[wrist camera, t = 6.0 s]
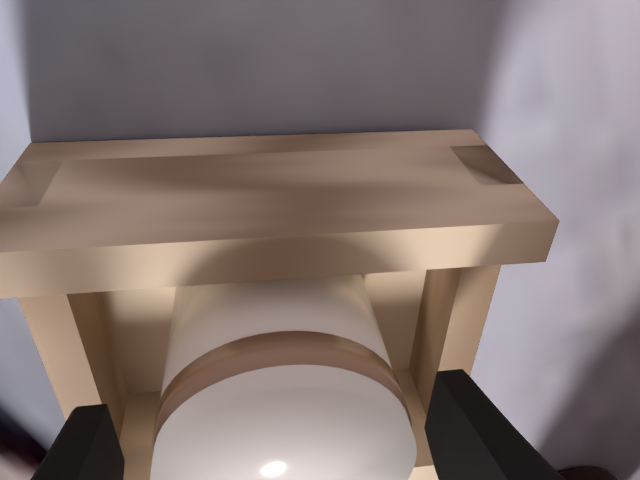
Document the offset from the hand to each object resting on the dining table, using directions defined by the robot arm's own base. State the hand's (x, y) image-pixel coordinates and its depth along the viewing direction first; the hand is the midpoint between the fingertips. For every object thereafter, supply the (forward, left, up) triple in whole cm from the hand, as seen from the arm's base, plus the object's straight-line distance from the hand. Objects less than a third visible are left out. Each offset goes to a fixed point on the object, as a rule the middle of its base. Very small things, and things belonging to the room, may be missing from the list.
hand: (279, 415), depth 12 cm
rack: (0, -4, -5) cm, 6 cm away
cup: (0, 0, -4) cm, 4 cm away
